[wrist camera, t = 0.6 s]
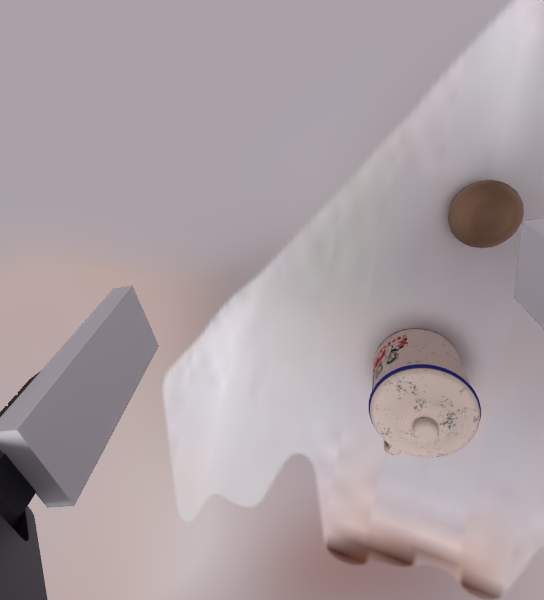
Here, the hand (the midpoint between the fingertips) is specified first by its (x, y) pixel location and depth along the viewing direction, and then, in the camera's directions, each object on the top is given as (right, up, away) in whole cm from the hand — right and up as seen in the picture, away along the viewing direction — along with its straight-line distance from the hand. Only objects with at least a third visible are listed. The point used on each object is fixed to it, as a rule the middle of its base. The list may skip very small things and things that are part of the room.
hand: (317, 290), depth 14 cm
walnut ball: (+16, +7, +19) cm, 26 cm away
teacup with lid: (+13, -8, +29) cm, 33 cm away
